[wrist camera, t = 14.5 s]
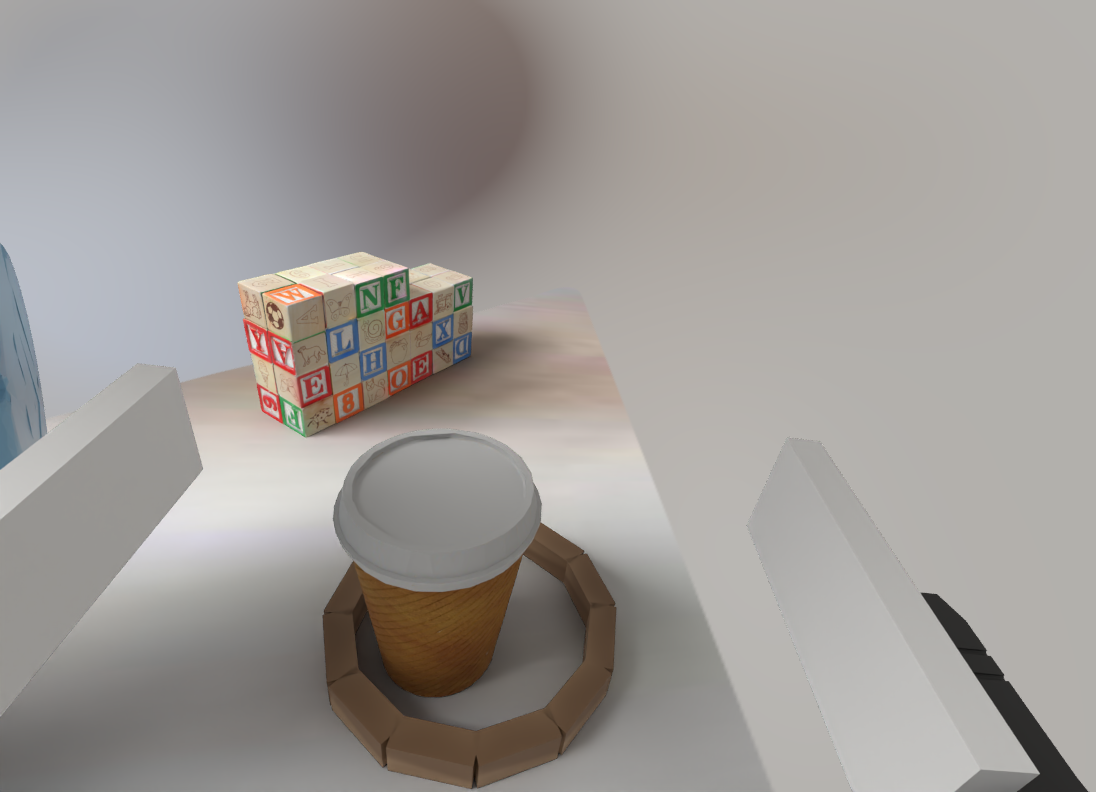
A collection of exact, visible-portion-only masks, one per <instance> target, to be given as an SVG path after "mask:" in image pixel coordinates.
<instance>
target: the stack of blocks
mask: <svg viewBox="0 0 1096 792" xmlns="http://www.w3.org/2000/svg"><path fill="white" fill-rule="evenodd" d="M238 288H239V293H240V298H241V303H242V308H243V312H244V316H245V318H244V319H243V322H244V328H245V332H246V337H247V342H248V347H249V351H250V352H251V358H252V362H253V367H254V372H255V377H256V381H257V389H258V394H259V398H260V404H261V409H262V411H263V412H264V413H266V414H268V415H269V416H271V417H272V418H274V419H276V420H277V421H279V422H281V423H283V424H285V425H286V426H288V427H290V428H291V429H293V430H294V431H296V432H298V433H299V434H301V435H302V436H304V437H308V436H311V435H313V434H315V433H317V432H319V431H321V430H323V429H325V428H327V427H329V426H331V425H333V424H335V423H338V422H340V421H342V420H344V419H347V418H349V417H351V416H353V415H355V414H357V413H359V412H361V411H363V410H364V409H367V408H369V407H371V406H373V405H375V404H377V403H379V402H381V401H383V400H385V399H387V398H388V397H389V396H391V395H393V394H395V393H397V392H399V391H401V390H403V389H405V388H407V387H409V386H411V385H412V384H414V383H416V382H419V381H420V380H423V379H424V378H426V377H428V376H430V375H431V374H435V373H437V372H439V371H441V370H443V369H445V368H447V367H449V366H451V365H453V364H455V363H457V362H459V361H461V360H463V359H465V358H467V357H469V356H471V338H472V332H471V330H472V319H473V306H472V290H473V289H472V288H473V278H471V277H468V276H466V275H463V274H460V273H457V272H455V271H450V270H447V269H445V268H442V267H439V266H436V265H433V264H430V263H429V264H426V265H423V266H419V267H416V268H412V269H409V268H407V267H404V266H401V265H398V264H395V263H392V262H390V261H387V260H383V259H380V258H377V257H375V256H372V255H369V254H367V253H364V252H358V253H355V254H351V255H346V256H342V257H338V258H334V259H329V260H325V261H321V262H317V263H313V264H310V265H308V266H302V267H298V268H294V269H291V270H286V271H283V272H278V273H275V274H268V275H263V276H260V277H255V278H251V279H247V280H243V281H239V282H238Z"/></svg>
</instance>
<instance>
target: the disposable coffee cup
mask: <svg viewBox="0 0 1096 792" xmlns="http://www.w3.org/2000/svg"><path fill="white" fill-rule="evenodd" d="M541 505H542V503H541V500H540V496H539V493H538V490H537V488H536V486H535V485H534V483H533V479H532V474H531V472H530V470H529V469H528V467H527V465H526V464H525V462H524V461H523V459H522V458H521V457H520V456H519V455H518V454H517V453H515V452H514V451H513V450H512V449H511V448H509V447H508V446H507V445H505V444H503V443H501V442H499V441H497V440H495V439H493V438H491V437H488V436H485V435H482V434H479V433H476V432H469V431H462V430H456V429H426V430H418V431H413V432H408V433H404V434H401V435H398V436H395V437H392V438H390V439H387V440H385V441H383V442H381V443H379V444H377V445H375V446H373V447H372V448H371V449H369V450H368V451H367V452H366V453H364V454H363V455H362V456H360V457H359V459H358V460H357V461H356V462H355V463H354V464H353V465H352V467H351V468H350V470H349V472H348V474H347V476H346V478H345V480H344V485H343V487H342V489H341V490H340V492H339V494H338V497H337V500H336V502H335V505H334V515H333V521H334V526H335V531H336V534H337V537H338V539H339V541H340V543H341V545H342V547H343V549H344V550H345V551H346V552H347V553H348V555H349V556H350V557H351V558H352V560H353V561H354V564H355V569H356V571H357V574H358V579H359V581H360V586H361V588H362V592H363V595H364V598H365V602H366V605H367V609H368V612H369V616H370V619H371V621H372V626H373V628H374V632H375V635H376V639H377V642H378V646H379V649H380V653H381V656H382V660H383V664H384V667H385V669H386V671H387V673H388V675H389V676H390V678H391V679H392V680H393V681H394V682H395V684H397V685H398V686H399V687H401V688H402V689H403V690H405V691H408V692H410V693H413V694H415V695H418V696H423V697H442V696H447V695H452V694H455V693H458V692H460V691H462V690H464V689H466V688H467V687H469V686H471V685H472V684H473V683H474V682H476V681H477V680H478V679H479V678H480V677H481V676H482V674H483V673H484V672H485V671H486V669H487V668H488V666H489V664H490V662H491V660H492V656H493V652H494V648H495V645H496V642H497V639H498V635H499V632H500V629H501V625H502V622H503V619H504V616H505V612H506V609H507V605H508V602H509V598H510V595H511V593H512V589H513V586H514V582H515V579H516V576H517V572H518V569H519V566H520V562H521V559H522V555H523V553H524V551H525V550H526V549H527V548H528V546H529V545H530V544H531V542H532V541H533V539H534V537H535V534H536V532H537V530H538V528H539V525H540V522H541Z"/></svg>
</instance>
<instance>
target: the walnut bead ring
mask: <svg viewBox="0 0 1096 792" xmlns="http://www.w3.org/2000/svg"><path fill="white" fill-rule="evenodd" d="M523 555H525V556H526V557H528V558H529V559H530V560H532V561H533V562H535V563H536V564H537V565H539V566H540V567H542V568H543V569H545V570H546V571H547V572H549V573H550V574H552V575H553V576H555V577H556V578H557V579H559V580H560V581H562V582H563V583H564V585H565V587H566V589H567V591H568V593H569V595H570V597H571V599H572V601H573V603H574V605H575V607H576V609H577V611H578V613H579V615H580V617H581V619H582V621H583V623H584V625H585V627H586V631H585V641H584V651H583V661H582V664H581V665H580V667H579V668H578V669H577V670H576V671H575V673H574V674H573V675H572V676H571V677H570V679H569V680H568V681H567V682H566V683H565V685H564V686H563V687H562V688H561V689H560V691H559V692H558V693H557V694H556V695H555V697H554V698H553V699H552V700H551V702H550V703H549V704H548V705H547V706H546V708H543V709H540V710H537V711H534V712H531V713H529V714H526V715H523V716H520V717H517V718H514V719H511V720H508V721H505V722H502V723H499V724H496V725H493V726H490V727H487V728H484V729H481V730H478V731H473V730H468V729H464V728H459V727H454V726H450V725H445V724H440V723H436V722H431V721H426V720H422V719H417V718H412V717H408V716H404V715H403V714H402V713H401V712H400V711H399V710H398V709H397V708H396V707H395V706H394V705H393V704H392V703H391V702H390V701H389V700H388V699H387V698H386V697H385V696H384V695H383V694H382V693H381V692H380V691H379V690H378V688H377V687H376V686H375V685H374V684H373V683H372V682H371V681H370V680H369V679H368V678H367V677H366V676H365V675H364V674H363V673H362V672H361V671H360V670H359V669H358V660H357V651H356V642H355V633H356V631H357V629H358V628H359V626H360V624H361V622H362V620H363V618H364V616H365V614H366V612H367V610H368V609H367V605H366V602H365V598H364V595H363V592H362V588H361V586H360V581H359V579H358V574H357V571H356V569H355V564H354V561H353V562H352V564H351V566H350V567H349V569H348V571H347V572H346V574H345V576H344V577H343V579H342V581H341V582H340V584H339V586H338V587H337V589H336V591H335V593H334V594H333V596H332V598H331V599H330V601H329V603H328V604H327V606H326V608H325V609H324V615H323V630H324V646H325V663H326V679H327V687H328V693H329V699H330V705H332V710H333V711H334V713H335V714H336V715H337V716H338V717H339V718H340V719H341V721H342V722H343V723H344V724H345V725H346V726H347V727H348V728H349V730H350V731H351V732H352V733H353V734H354V735H355V736H356V738H357V739H358V740H359V741H360V742H361V743H362V744H363V746H364V747H365V748H366V749H367V750H368V751H369V752H370V753H371V755H372V756H373V757H374V758H375V759H376V760H377V761H378V763H379V764H380V765H381V766H382V767H384V766H385V765H386V764H387V768H388V771H393V772H397V773H402V774H406V775H411V776H416V777H420V778H425V779H429V780H434V781H438V782H443V783H447V784H452V785H456V786H461V787H465V788H470V789H471V788H472V784H473V780H474V777H475V781H476V785H477V788H480V787H482V786H485V785H488V784H490V783H493V782H496V781H498V780H501V779H504V778H506V777H509V776H512V775H514V774H517V773H520V772H522V771H525V770H528V769H530V768H533V767H536V766H538V765H541V764H544V763H546V762H549V761H552V760H554V759H557V756H558V753H560V754H561V755H562V754H563V752H564V751H565V750H566V748H567V747H568V746H569V744H570V743H571V741H572V740H573V739H574V737H575V736H576V735H577V733H578V732H579V731H580V729H581V728H582V727H583V725H584V724H585V723H586V721H587V720H588V719H589V717H590V716H591V715H592V713H593V712H594V711H595V709H596V708H597V707H598V705H599V704H600V703H601V701H602V700H603V698H604V697H605V696H606V692H607V690H608V687H609V683H610V679H611V676H612V672H613V666H614V645H615V623H616V607H614V606H615V602H614V600H613V598H612V597H611V595H610V593H609V591H608V590H607V588H606V586H605V584H604V583H603V581H602V579H601V577H600V576H599V574H598V572H597V570H596V569H595V567H594V565H593V563H592V562H591V560H590V558H589V556H588V555H587V554H584V550H582V549H581V548H579V547H578V546H576V545H574V544H573V543H571V542H570V541H568V540H567V539H565V538H564V537H562V536H561V535H559V534H558V533H556V532H555V531H553V530H551V529H550V528H548V527H547V526H545V525H544V524H542V523H541V522H540V525H539V528H538V530H537V532H536V534H535V537H534V539H533V541H532V542H531V544H530V545H529V546H528V548H527V549H526V550H525V551H524V553H523Z"/></svg>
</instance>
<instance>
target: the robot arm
mask: <svg viewBox="0 0 1096 792" xmlns="http://www.w3.org/2000/svg"><path fill="white" fill-rule="evenodd" d="M202 470H203V467H202V463H201V459H200V455H199V452H198V448H197V444H196V441H195V437H194V433H193V430H192V426H191V422H190V418H189V415H188V411H187V407H186V404H185V400H184V396H183V393H182V389H181V385H180V381H179V378H178V374H177V371H176V368H173V367H164V366H155V365H146V364H136V365H135V366H134V367H132V368H131V369H130V370H129V371H127V372H126V373H125V374H123V375H122V376H121V377H119V378H118V379H117V380H116V381H114V382H113V383H112V384H111V385H109V386H108V387H107V388H105V389H104V390H103V391H101V392H100V393H99V394H97V395H96V396H95V397H94V398H93V399H91V400H90V401H88V402H87V403H86V404H85V405H83V406H82V407H81V408H79V409H78V410H77V411H76V412H74V413H73V414H72V415H70V416H69V417H68V418H67V419H65V420H64V421H63V422H61V423H60V424H59V425H58V426H56V427H55V428H54V429H52V430H51V431H50V432H48V433H47V427H46V419H45V412H44V404H43V397H42V391H41V383H40V379H39V372H38V366H37V361H36V355H35V350H34V345H33V340H32V336H31V330H30V326H29V321H28V317H27V313H26V308H25V305H24V301H23V297H22V293H21V290H20V286H19V283H18V279H17V276H16V274H15V270H14V267H13V265H12V262H11V259H10V257H9V255H8V253H7V252H6V250H5V248H4V247H3V245H1V244H0V717H1V716H2V714H3V713H4V712H5V711H6V710H7V708H8V707H9V706H10V705H11V703H12V702H13V701H14V700H15V699H16V697H17V696H18V695H19V694H20V692H21V691H22V690H23V689H24V688H25V686H26V685H27V684H28V683H29V681H30V680H31V679H32V678H33V677H34V675H35V674H36V673H37V672H38V670H39V669H40V668H41V667H42V666H43V664H44V663H45V662H46V661H47V659H48V658H49V657H50V656H51V655H52V653H53V652H54V651H55V650H56V648H57V647H58V646H59V645H60V644H61V642H62V641H63V640H64V639H65V637H66V636H67V635H68V634H69V633H70V631H71V630H72V629H73V628H74V626H75V625H76V624H77V623H78V622H79V620H80V619H81V618H82V617H83V615H84V614H85V613H86V612H87V611H88V609H89V608H90V607H91V606H92V604H93V603H94V602H95V601H96V600H97V598H98V597H99V596H100V595H101V593H102V592H103V591H104V590H105V589H106V587H107V586H108V585H109V584H110V582H111V581H112V580H113V579H114V578H115V576H116V575H117V574H118V573H119V571H120V570H121V569H122V568H123V567H124V565H125V564H126V563H127V562H128V560H129V559H130V558H131V557H132V556H133V554H134V553H135V552H136V551H137V549H138V548H139V547H140V546H141V545H142V543H143V542H144V541H145V540H146V538H147V537H148V536H149V535H150V534H151V532H152V531H153V530H154V529H155V527H156V526H157V525H158V524H159V523H160V521H161V520H162V519H163V518H164V516H165V515H166V514H167V513H168V512H169V510H170V509H171V508H172V507H173V505H174V504H175V503H176V502H177V501H178V499H179V498H180V497H181V496H182V494H183V493H184V492H185V491H186V490H187V488H188V487H189V486H190V485H191V483H192V482H193V481H194V480H195V479H196V477H197V476H198V475H199V474H200V472H201V471H202ZM747 527H748V530H749V532H750V535H751V537H752V540H753V542H754V545H755V547H756V550H757V552H758V555H759V558H760V560H761V563H762V565H763V568H764V570H765V573H766V575H767V578H768V580H769V583H770V585H771V588H772V590H773V593H774V596H775V598H776V601H777V603H778V606H779V608H780V611H781V613H782V616H783V618H784V621H785V623H786V626H787V628H788V631H789V633H790V635H791V638H792V641H793V643H794V646H795V649H796V651H797V654H798V656H799V659H800V661H801V664H802V666H803V669H804V671H805V674H806V676H807V679H808V681H809V684H810V686H811V689H812V692H813V694H814V696H815V699H816V702H817V704H818V707H819V709H820V712H821V714H822V717H823V719H824V722H825V724H826V727H827V729H828V732H829V734H830V737H831V739H832V742H833V745H834V747H835V750H836V752H837V754H838V757H839V760H840V762H841V765H842V767H843V770H844V772H845V775H846V777H847V780H848V782H849V785H850V788H851V790H852V792H1088V791H1087V790H1086V788H1085V787H1084V786H1083V785H1082V783H1081V782H1080V781H1079V780H1078V779H1077V777H1076V776H1075V774H1074V773H1073V771H1072V770H1071V769H1070V767H1069V766H1068V765H1067V763H1066V762H1065V760H1064V759H1063V758H1062V756H1061V755H1060V753H1059V752H1058V750H1057V749H1056V747H1055V746H1054V745H1053V743H1052V742H1051V740H1050V739H1049V738H1048V736H1047V735H1046V733H1045V732H1044V731H1043V729H1042V728H1041V727H1040V725H1039V723H1038V722H1037V721H1036V719H1035V718H1034V716H1033V715H1032V714H1031V712H1030V711H1029V709H1028V708H1027V707H1026V705H1025V704H1024V702H1023V701H1022V699H1021V698H1020V697H1019V695H1018V694H1017V692H1016V691H1015V690H1014V688H1013V687H1012V685H1011V684H1010V683H1009V681H1005V680H1004V674H1003V673H1002V671H1001V670H1000V668H999V667H998V666H997V664H996V663H995V661H994V660H993V658H992V657H991V656H987V654H986V649H985V648H984V646H983V644H982V643H981V642H980V640H979V639H978V637H977V636H976V635H975V633H974V632H973V630H972V629H971V627H970V626H969V625H968V623H967V622H966V620H964V619H963V618H962V617H961V616H960V615H959V614H958V613H957V612H956V611H955V610H954V609H952V608H951V607H950V606H949V605H948V604H947V603H946V602H945V601H944V600H943V599H941V598H940V597H939V596H938V595H937V594H929V593H920V592H919V590H918V589H917V587H916V586H915V584H914V583H913V581H912V580H911V578H910V577H909V575H908V573H907V572H906V571H905V569H904V568H903V566H902V564H901V563H900V561H899V560H898V558H897V557H896V555H895V554H894V552H893V551H892V549H891V548H890V547H889V545H888V543H887V542H886V540H885V539H884V537H883V536H882V534H881V533H880V531H879V530H878V528H877V527H876V525H875V524H874V522H873V521H872V519H871V518H870V516H869V515H868V513H867V511H866V510H865V509H864V507H863V505H862V504H861V503H860V501H859V499H858V498H857V496H856V495H855V493H854V492H853V491H852V489H851V487H850V486H849V484H848V483H847V481H846V480H845V478H844V477H843V475H842V474H841V472H840V471H839V469H838V468H837V466H836V465H835V463H834V462H833V460H832V459H831V457H830V456H829V454H828V453H827V451H826V450H825V448H824V446H823V445H822V443H821V442H820V441H813V440H804V439H796V438H786V441H785V443H784V445H783V447H782V449H781V451H780V454H779V456H778V458H777V460H776V462H775V465H774V467H773V469H772V471H771V473H770V475H769V478H768V480H767V482H766V484H765V486H764V489H763V491H762V493H761V495H760V497H759V500H758V502H757V504H756V506H755V508H754V510H753V513H752V515H751V517H750V519H749V521H748V524H747Z"/></svg>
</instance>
